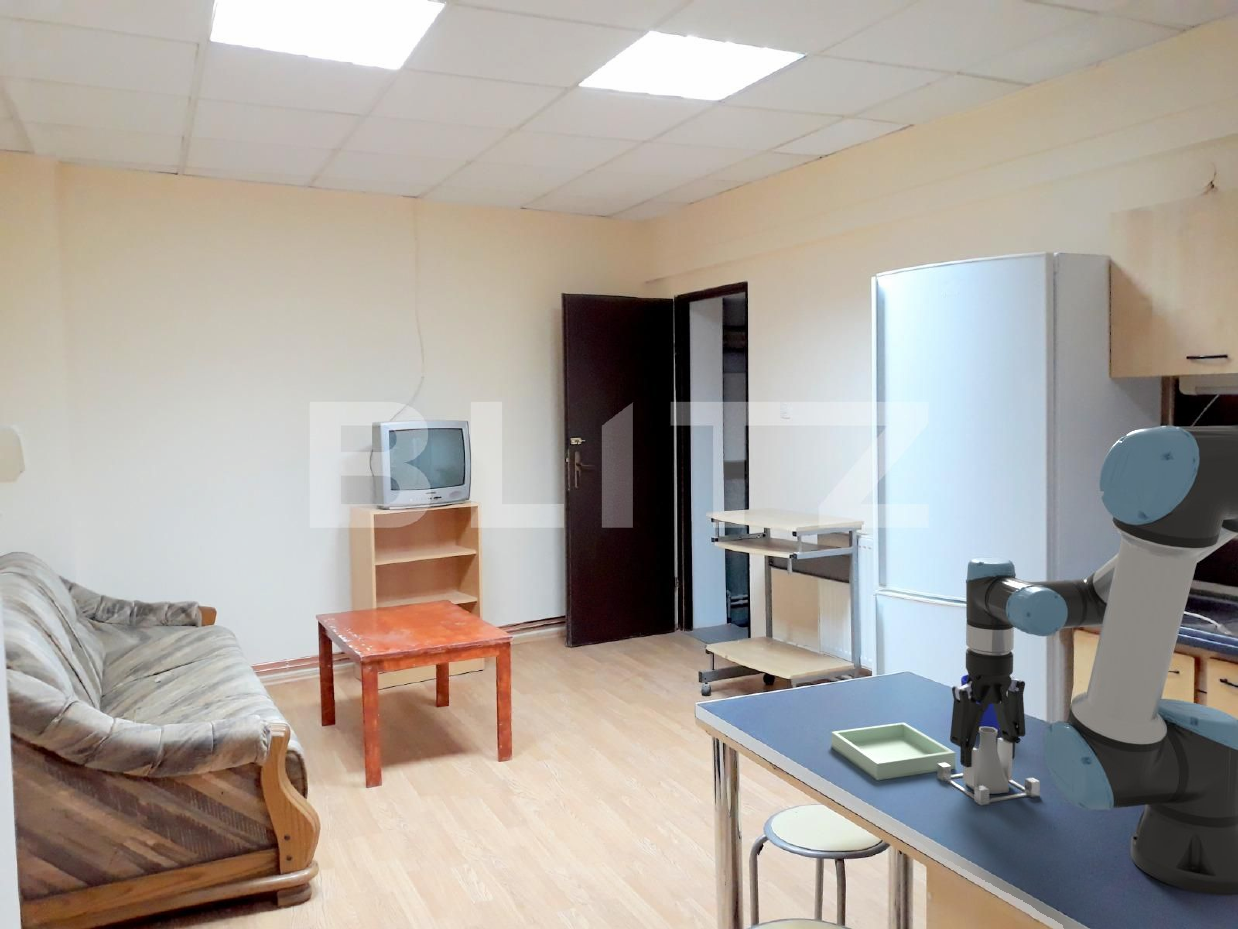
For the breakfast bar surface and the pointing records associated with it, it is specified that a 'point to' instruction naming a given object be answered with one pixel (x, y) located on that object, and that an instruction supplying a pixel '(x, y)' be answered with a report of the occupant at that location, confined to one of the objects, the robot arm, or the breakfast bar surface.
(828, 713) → the breakfast bar surface
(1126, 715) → the robot arm
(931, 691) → the breakfast bar surface
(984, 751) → the flask
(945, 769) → the socket
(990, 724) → the mug
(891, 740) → the bin
